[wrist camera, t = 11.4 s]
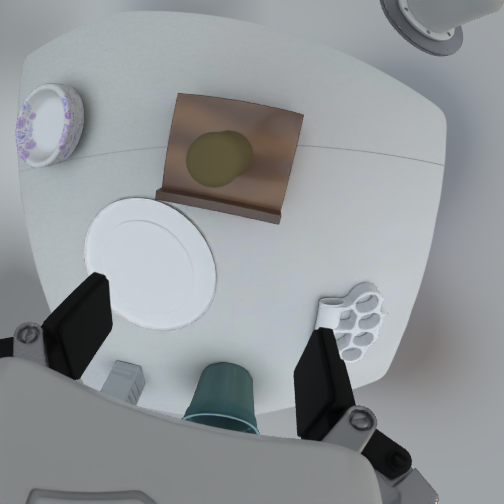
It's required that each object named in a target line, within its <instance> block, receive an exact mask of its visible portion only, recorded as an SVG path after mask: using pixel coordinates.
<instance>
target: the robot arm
mask: <svg viewBox="0 0 504 504" xmlns="http://www.w3.org/2000/svg"><path fill="white" fill-rule="evenodd" d="M503 1H504V0H398V5H399V8H400V10H401V12H402V14H403V15H404V17H405V18H406V19H407V21H408V22H409V23H410V24H411V25H412V26H413V27H414V28H415V29H416V30H418V31H419V32H420V33H421V34H423V35H425V36H426V37H428V38H430V39H433V40H436V41H446V40H448V39H450V38H451V37H452V36H453V35H454V31H455V27H458V26H460V25H462V24H465V23H467V22H470V21H472V20H475V19H478V18H480V17H483V16H485V15H489V14H491V13H494V12H496V11H498V10H499V9H500V8H501V7H502V5H503ZM112 326H113V322H112V313H111V301H110V287H109V280H108V279H107V278H106V276H105V275H103V274H100V273H97V272H93V273H92V274H91V275H90V276H89V277H88V278H87V279H86V280H85V281H83V282H82V283H81V284H80V285H79V286H78V287H77V288H76V289H75V290H74V291H73V292H72V293H71V294H70V295H69V296H68V297H67V298H66V299H65V300H64V301H63V302H62V303H61V304H60V305H59V306H58V307H57V308H56V309H55V310H54V311H53V312H52V313H51V314H50V316H49V317H48V318H47V319H46V320H45V321H44V323H43V325H42V326H41V327H40V325H38V324H37V323H33V322H27V323H23V324H21V325H20V326H19V327H18V328H17V329H16V330H15V333H14V337H10V338H5V339H0V504H438V501H439V498H438V494H437V493H436V491H435V490H434V489H433V488H432V487H431V485H430V484H429V483H428V482H427V481H426V479H425V478H424V477H423V476H422V475H421V474H420V472H419V471H418V470H417V469H416V468H415V469H412V467H411V465H412V459H411V456H410V454H409V452H408V451H407V450H406V449H404V448H403V447H401V446H400V445H398V444H397V443H395V442H394V441H393V440H391V439H390V438H388V437H387V436H386V435H384V434H383V433H381V432H380V431H379V430H377V429H376V427H377V419H376V416H375V415H374V413H373V412H372V411H371V410H370V409H368V408H366V407H364V406H356V404H355V400H354V396H353V392H352V388H351V384H350V380H349V376H348V372H347V369H346V365H345V362H344V360H343V359H341V358H340V354H339V350H338V347H337V343H336V339H335V336H334V332H333V329H330V328H324V327H319V328H318V330H317V329H315V330H314V331H313V333H312V335H311V337H310V339H309V341H308V344H307V346H306V348H305V350H304V352H303V354H302V356H301V358H300V360H299V362H298V364H297V366H296V368H295V370H294V389H295V404H296V420H297V435H298V436H299V437H301V439H293V438H282V437H274V436H265V435H258V434H251V433H244V432H238V431H232V430H227V429H222V428H217V427H212V426H207V425H203V424H198V423H194V422H190V421H186V420H182V419H178V418H175V417H171V416H168V415H164V414H161V413H158V412H154V411H151V410H148V409H145V408H142V407H139V406H136V405H133V404H131V403H128V402H125V401H122V400H120V399H117V398H115V397H112V396H109V395H107V394H105V393H102V392H100V391H97V390H95V389H93V388H91V387H88V386H86V385H84V384H82V383H79V382H77V381H75V380H76V379H77V380H78V379H80V377H81V376H82V374H83V373H84V371H85V369H86V368H87V366H88V365H89V363H90V362H91V360H92V359H93V357H94V355H95V354H96V352H97V351H98V349H99V348H100V346H101V345H102V343H103V342H104V340H105V339H106V337H107V336H108V335H109V333H110V332H111V330H112Z"/></svg>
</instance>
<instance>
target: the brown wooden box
mask: <svg viewBox="0 0 504 504" xmlns="http://www.w3.org/2000/svg"><path fill="white" fill-rule="evenodd" d="M303 117H304V115H303V114H300V113H296V112H292V111H287V110H283V109H279V108H274V107H270V106H265V105H260V104H255V103H250V102H244V101H238V100H232V99H226V98H219V97H211V96H203V95H194V94H183V93H178V96H177V100H176V105H175V110H174V115H173V120H172V125H171V131H170V136H169V142H168V148H167V154H166V161H165V168H164V175H163V183H162V188H160V189H158V190H156V197H155V199H156V200H162V201H167V202H172V203H178V204H183V205H188V206H193V207H198V208H203V209H208V210H213V211H218V212H223V213H228V214H232V215H237V216H242V217H246V218H251V219H256V220H260V221H265V222H269V223H274V224H278V225H279V223H280V219H281V208H282V204H283V200H284V196H285V192H286V188H287V184H288V180H289V176H290V172H291V168H292V164H293V159H294V155H295V151H296V147H297V143H298V139H299V134H300V130H301V126H302V122H303ZM227 130H229V131H236V132H238V133H240V134H243V135H244V136H245V137H246V138H247V139H248V140H249V142H250V144H251V146H252V151H253V157H252V162H251V164H250V166H249V168H248V169H247V170H246V171H245V172H244V173H242V174H240V175H238V176H237V177H236V178H235V179H234V180H233V181H232V182H231V183H229V184H227V185H225V186H222V187H216V188H213V187H206V186H204V185H201V184H199V183H197V182H196V181H195V180H194V179H193V178H192V177H191V175H190V173H189V172H188V170H187V165H186V155H187V152H188V149H189V147H190V145H191V144H192V143H193V141H194V140H195V139H196V138H198V137H199V136H201V135H203V134H205V133H209V132H222V131H227Z"/></svg>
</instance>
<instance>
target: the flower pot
mask: <svg viewBox="0 0 504 504" xmlns="http://www.w3.org/2000/svg"><path fill="white" fill-rule="evenodd" d="M182 420H186V421H190V422H194V423H198V424H203V425H207V426H212V427H217V428H222V429H227V430H232V431H238V432H244V433H251V434H258V435H260V433H259V431H258V429H257V423H256V418H255V415H254V399H253V384H252V378H251V376H250V375H249V373H248V371H246V370H245V369H244V368H242V367H240V366H237V365H234V364H230V363H220V364H217V365H213V364H212V365H209V366H208V367H206V368H205V369H204V370H203V372H202V375H201V377H200V380H199V383H198V385H197V388H196V391H195V393H194V396H193V399H192V401H191V404H190V406H189V407H188V408H187V410H186V413H185V415H184V417H183V418H182Z"/></svg>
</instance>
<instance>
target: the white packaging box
mask: <svg viewBox="0 0 504 504" xmlns="http://www.w3.org/2000/svg"><path fill="white" fill-rule="evenodd" d="M144 386H145V380H144V377H143V373H142V370H141V367H140V366H137V365H132V364H128V363H124V362H120V361H116V363H115V365H114V367H113V369H112V370H111V372H110V374H109V376H108V378H107V380H106V382H105V383H104V385H103V387H102V389H101V391H100V392H102V393H105V394H107V395H109V396H112V397H115V398H117V399H120V400H122V401H125V402H128V403H131V404H133V405H137V402H138V400H139V398H140V395H141V393H142V390H143V388H144Z"/></svg>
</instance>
